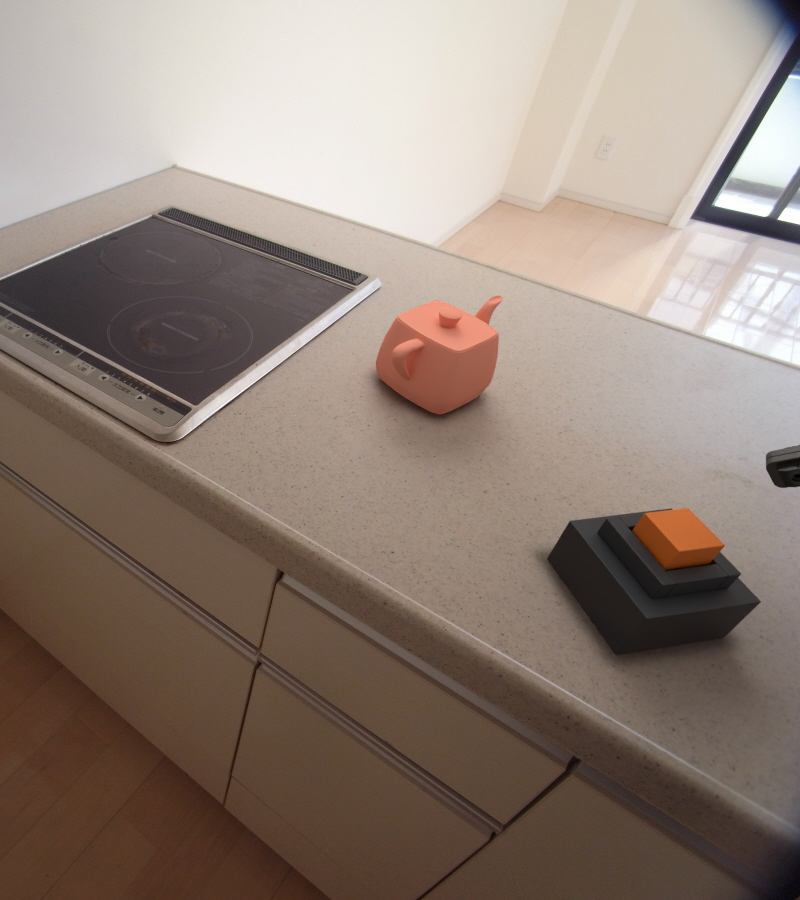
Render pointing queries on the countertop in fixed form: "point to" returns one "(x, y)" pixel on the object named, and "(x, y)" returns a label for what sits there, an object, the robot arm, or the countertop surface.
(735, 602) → the push button box
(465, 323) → the teapot
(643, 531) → the key
